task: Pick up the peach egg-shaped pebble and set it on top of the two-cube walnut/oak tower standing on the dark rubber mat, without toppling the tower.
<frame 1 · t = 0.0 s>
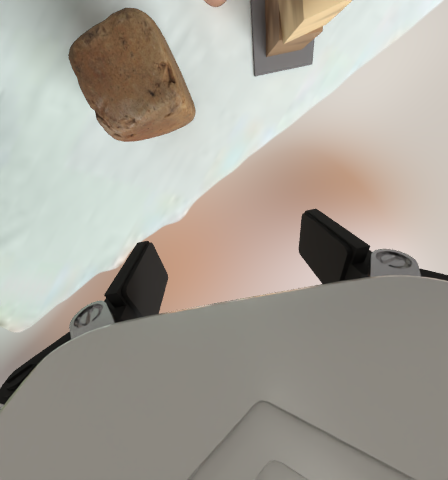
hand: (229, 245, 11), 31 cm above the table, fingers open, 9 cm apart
tower top: (302, 0, 21), point 6 cm above the table, touching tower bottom
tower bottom: (284, 26, 26), resting on mat, touching tower top
mat: (283, 27, 27), on the table
block: (165, 109, 31), on the table
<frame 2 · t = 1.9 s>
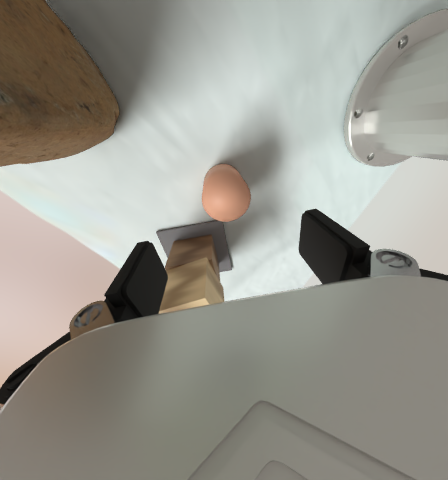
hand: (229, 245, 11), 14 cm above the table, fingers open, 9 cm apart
tower top: (194, 280, 23), point 6 cm above the table, touching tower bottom
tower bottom: (197, 253, 28), resting on mat, touching tower top
mat: (197, 251, 28), on the table
block: (70, 85, 16), on the table
peach egg-shaped pebble: (222, 184, 22), on the table
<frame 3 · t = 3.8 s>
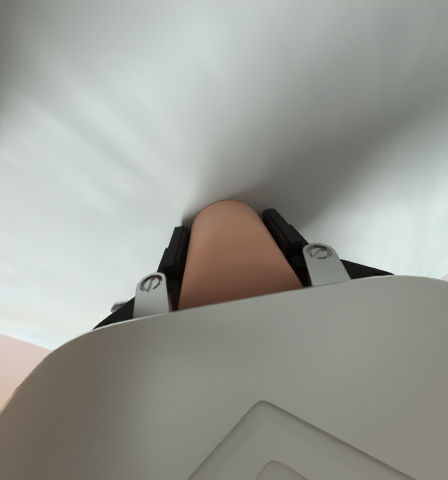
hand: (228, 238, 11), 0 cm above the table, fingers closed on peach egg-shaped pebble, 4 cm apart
peach egg-shaped pebble: (227, 234, 12), on the table, touching gripper
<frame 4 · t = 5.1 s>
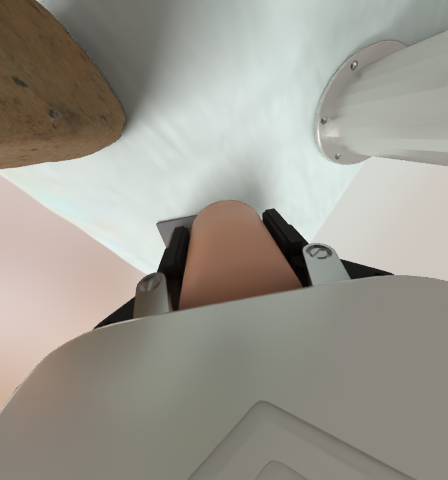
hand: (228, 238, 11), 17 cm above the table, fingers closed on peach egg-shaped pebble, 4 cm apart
mat: (193, 241, 31), on the table
block: (84, 97, 20), on the table
peach egg-shaped pebble: (227, 234, 12), point 17 cm above the table, touching gripper
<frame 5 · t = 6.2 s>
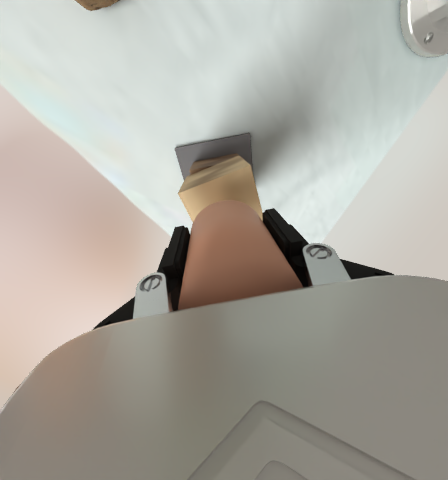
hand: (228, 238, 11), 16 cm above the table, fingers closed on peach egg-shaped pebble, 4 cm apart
tower top: (221, 192, 20), point 6 cm above the table, touching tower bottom
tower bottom: (219, 179, 25), resting on mat, touching tower top
mat: (218, 179, 25), on the table
peach egg-shaped pebble: (227, 234, 12), point 16 cm above the table, touching gripper
when the fingers open (14 cm above the table, at t = 6.8 s): peach egg-shaped pebble drops 1 cm, resting on tower top.
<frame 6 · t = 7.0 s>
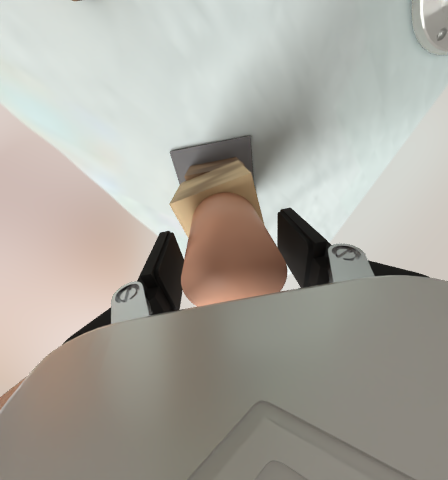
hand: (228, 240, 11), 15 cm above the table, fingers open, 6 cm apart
tower top: (219, 199, 18), point 6 cm above the table, touching peach egg-shaped pebble, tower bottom
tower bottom: (217, 184, 23), resting on mat, touching tower top
mat: (217, 184, 23), on the table
peach egg-shaped pebble: (224, 224, 13), point 12 cm above the table, touching tower top
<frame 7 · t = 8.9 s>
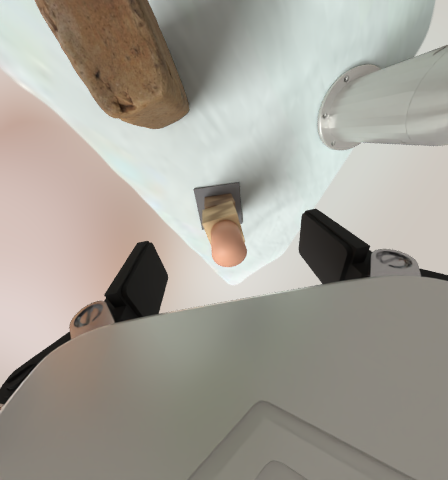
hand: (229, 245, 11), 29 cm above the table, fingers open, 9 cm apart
tower top: (221, 218, 34), point 6 cm above the table, touching peach egg-shaped pebble, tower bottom
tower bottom: (219, 207, 39), resting on mat, touching tower top
mat: (219, 207, 40), on the table
block: (160, 87, 28), on the table
peach egg-shaped pebble: (225, 232, 29), point 12 cm above the table, touching tower top
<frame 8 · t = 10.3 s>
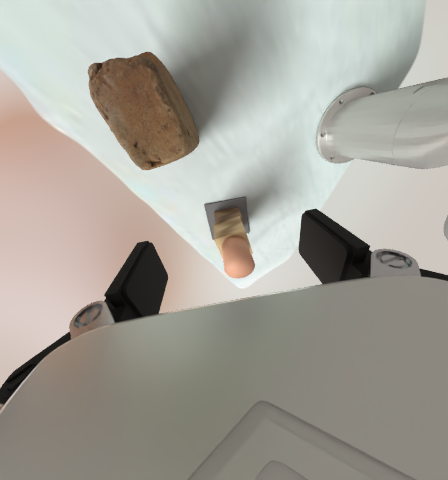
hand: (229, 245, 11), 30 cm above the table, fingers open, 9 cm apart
tower top: (230, 231, 38), point 6 cm above the table, touching peach egg-shaped pebble, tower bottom
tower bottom: (227, 220, 43), resting on mat, touching tower top
mat: (227, 219, 43), on the table
block: (172, 121, 32), on the table
peach egg-shaped pebble: (234, 246, 33), point 12 cm above the table, touching tower top
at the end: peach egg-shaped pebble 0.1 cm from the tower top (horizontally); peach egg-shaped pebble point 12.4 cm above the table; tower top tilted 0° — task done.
